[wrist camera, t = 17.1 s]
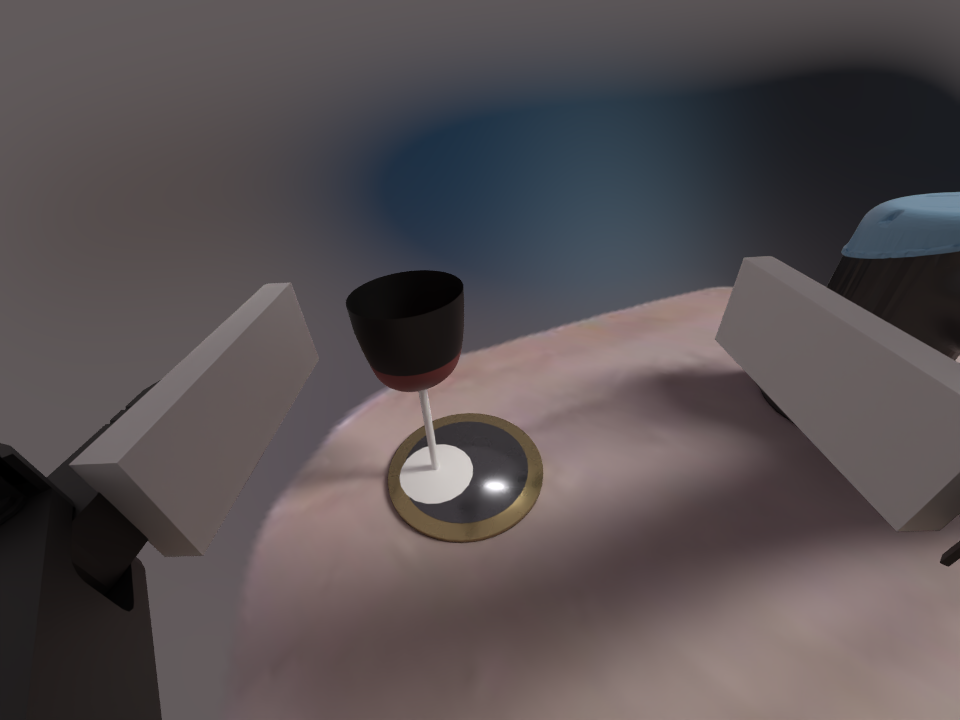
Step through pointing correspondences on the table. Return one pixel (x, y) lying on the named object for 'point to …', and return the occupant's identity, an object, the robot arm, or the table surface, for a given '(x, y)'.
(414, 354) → the wineglass
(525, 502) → the coaster
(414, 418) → the table surface
